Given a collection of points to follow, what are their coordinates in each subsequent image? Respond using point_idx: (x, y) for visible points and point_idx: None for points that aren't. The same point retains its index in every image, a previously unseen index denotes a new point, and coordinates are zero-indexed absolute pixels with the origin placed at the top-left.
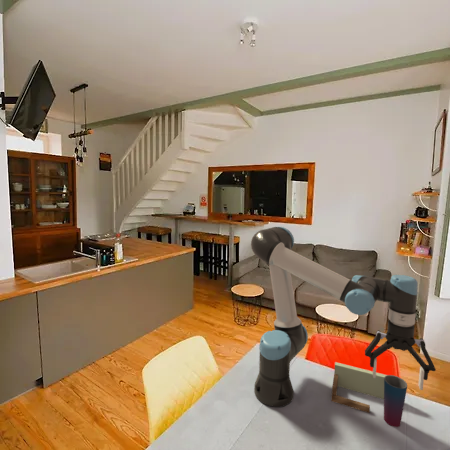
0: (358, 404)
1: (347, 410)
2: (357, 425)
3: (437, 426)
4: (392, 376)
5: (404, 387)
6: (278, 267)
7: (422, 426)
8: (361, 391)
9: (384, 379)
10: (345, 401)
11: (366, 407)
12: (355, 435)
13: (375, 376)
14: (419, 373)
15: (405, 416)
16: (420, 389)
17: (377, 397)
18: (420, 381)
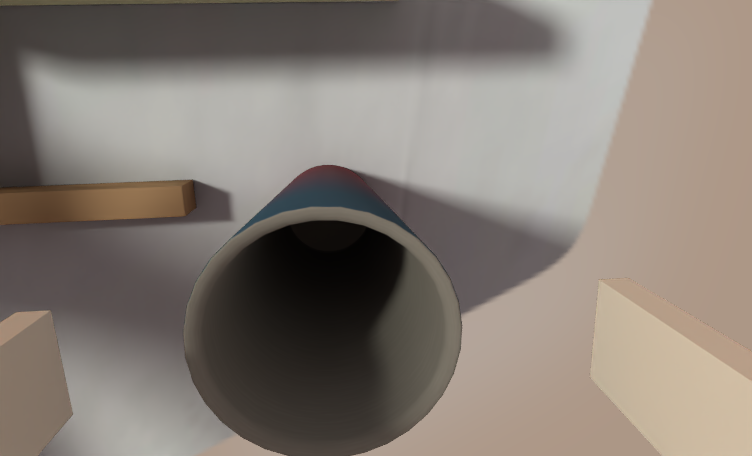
0: (106, 219)
1: (62, 254)
2: (144, 346)
3: (578, 120)
4: (291, 222)
5: (425, 280)
6: None
7: (494, 165)
8: (107, 2)
9: (188, 365)
10: (16, 222)
11: (164, 215)
12: (146, 418)
13: (54, 435)
14: (728, 371)
15: (410, 122)
16: (596, 377)
17: (234, 1)
18: (658, 442)
